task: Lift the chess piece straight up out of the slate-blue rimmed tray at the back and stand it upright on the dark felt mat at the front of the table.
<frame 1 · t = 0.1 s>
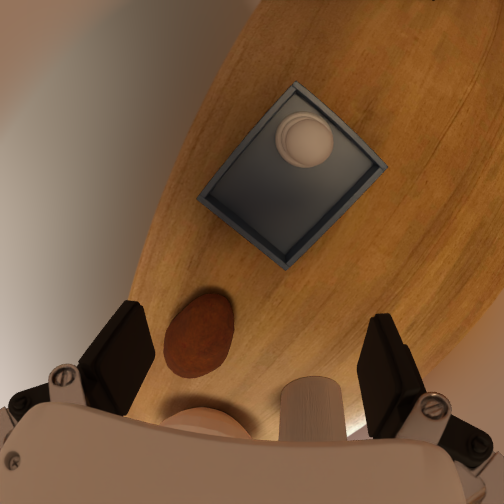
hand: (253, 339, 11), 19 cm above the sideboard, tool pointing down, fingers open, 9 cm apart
potato: (206, 320, 36), on the sideboard
tray: (291, 176, 27), on the sideboard
cup: (311, 394, 40), on the sideboard
chess piece: (303, 139, 26), resting on tray
pitcher: (212, 420, 46), on the sideboard
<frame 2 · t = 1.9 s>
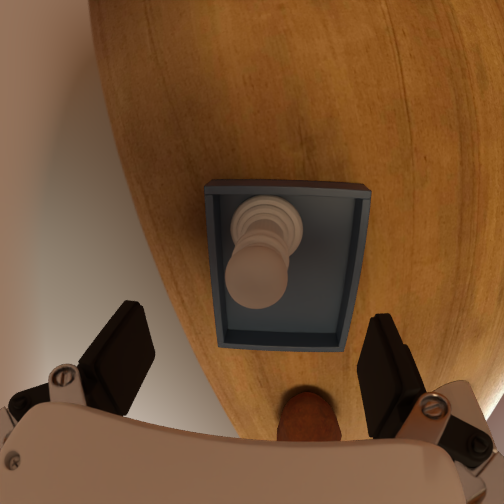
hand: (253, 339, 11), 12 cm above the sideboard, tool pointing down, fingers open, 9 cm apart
potato: (308, 409, 32), on the sideboard
tray: (285, 267, 24), on the sideboard
cup: (442, 400, 30), on the sideboard
chess piece: (267, 226, 22), resting on tray
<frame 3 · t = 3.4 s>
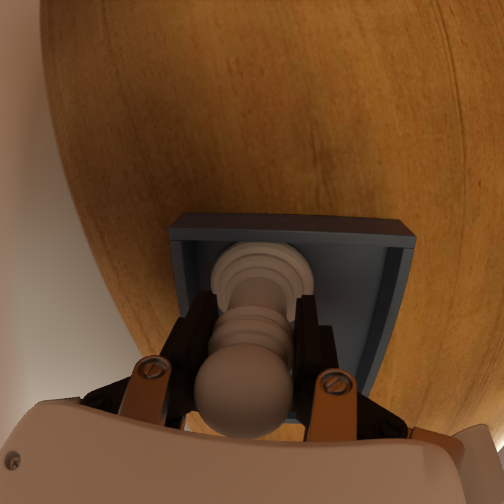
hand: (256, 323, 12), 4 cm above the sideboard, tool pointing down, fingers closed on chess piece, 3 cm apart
tray: (287, 329, 17), on the sideboard
cup: (457, 443, 23), on the sideboard
chess piece: (262, 279, 16), resting on tray, touching gripper
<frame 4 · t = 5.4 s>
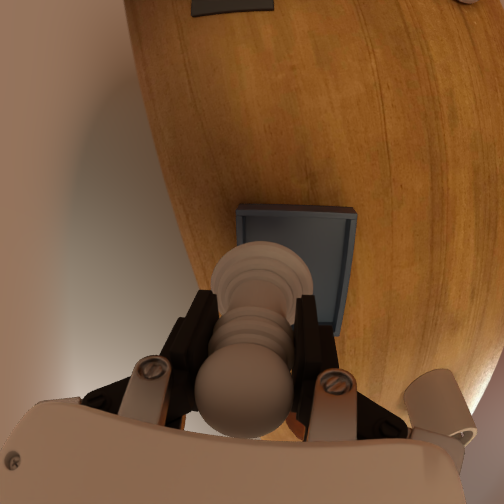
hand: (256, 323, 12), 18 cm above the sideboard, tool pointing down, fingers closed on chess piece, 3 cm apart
potato: (311, 391, 39), on the sideboard
tray: (293, 270, 31), on the sideboard
cup: (428, 387, 37), on the sideboard
chess piece: (262, 283, 16), point 14 cm above the sideboard, touching gripper
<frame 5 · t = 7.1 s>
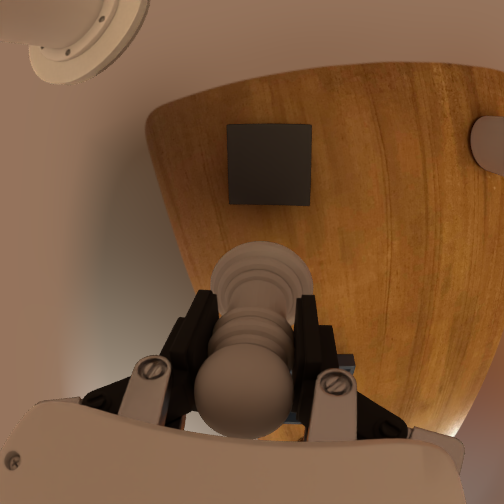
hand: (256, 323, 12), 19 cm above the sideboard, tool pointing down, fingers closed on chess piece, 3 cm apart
tray: (307, 387, 39), on the sideboard
beverage can: (485, 142, 23), on the sideboard
mat: (269, 164, 28), on the sideboard
chess piece: (262, 283, 16), point 15 cm above the sideboard, touching gripper
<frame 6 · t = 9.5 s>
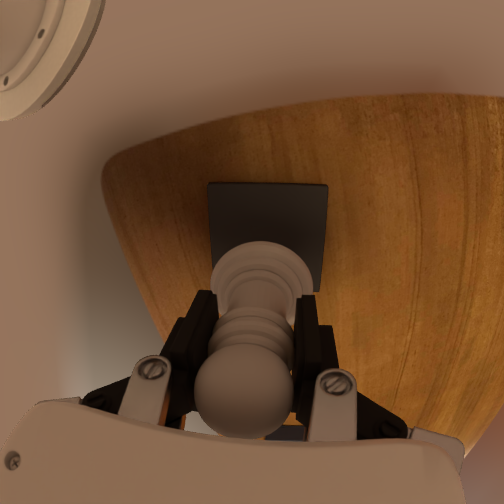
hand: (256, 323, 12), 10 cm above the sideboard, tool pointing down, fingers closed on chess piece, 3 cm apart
tray: (305, 449, 33), on the sideboard
mat: (267, 238, 21), on the sideboard
chess piece: (262, 283, 16), point 6 cm above the sideboard, touching gripper
when the fingers open (4 cm above the sideboard, at t = 11.0 s): chess piece stays where it is, resting on mat.
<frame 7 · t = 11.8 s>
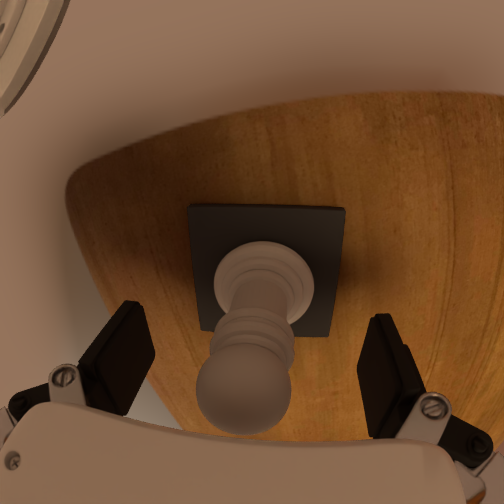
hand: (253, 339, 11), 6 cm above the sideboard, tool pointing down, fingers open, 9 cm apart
mat: (265, 274, 16), on the sideboard
chess piece: (264, 281, 16), resting on mat
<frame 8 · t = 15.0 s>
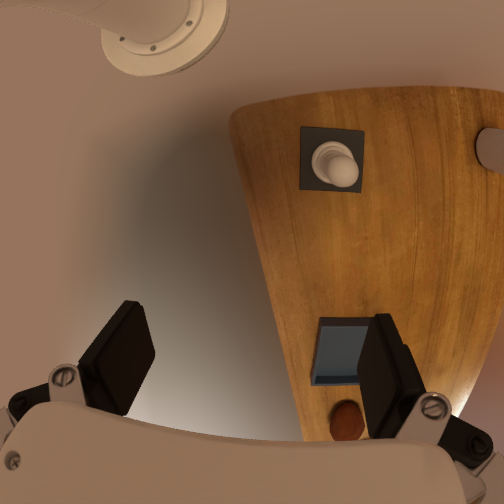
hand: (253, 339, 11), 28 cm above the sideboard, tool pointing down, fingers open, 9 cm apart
potato: (345, 412, 55), on the sideboard
tray: (346, 349, 47), on the sideboard
beverage can: (487, 148, 30), on the sideboard
mat: (331, 159, 35), on the sideboard
chess piece: (332, 161, 34), resting on mat
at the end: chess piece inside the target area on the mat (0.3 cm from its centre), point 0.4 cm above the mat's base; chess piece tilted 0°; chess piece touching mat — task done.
